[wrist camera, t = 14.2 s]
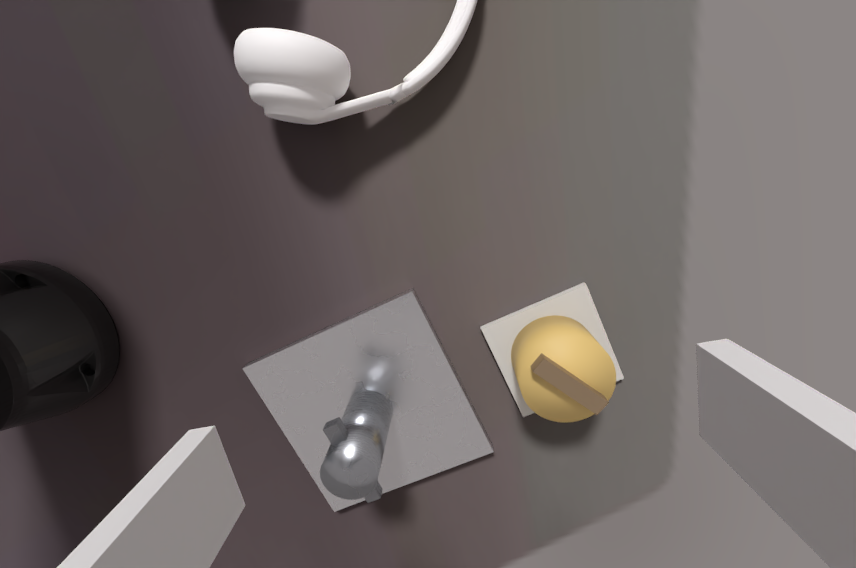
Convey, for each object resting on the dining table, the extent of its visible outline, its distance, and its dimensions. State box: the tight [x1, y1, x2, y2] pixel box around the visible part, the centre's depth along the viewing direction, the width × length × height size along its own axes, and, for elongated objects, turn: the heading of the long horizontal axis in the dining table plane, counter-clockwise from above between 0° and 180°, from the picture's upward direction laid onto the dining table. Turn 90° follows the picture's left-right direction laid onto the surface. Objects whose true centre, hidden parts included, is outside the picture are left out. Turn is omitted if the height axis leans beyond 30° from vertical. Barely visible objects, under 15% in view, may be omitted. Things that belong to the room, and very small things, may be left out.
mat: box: [481, 283, 624, 417], centre depth 38 cm, size 10×10×1 cm
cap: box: [511, 315, 616, 423], centre depth 35 cm, size 8×8×6 cm
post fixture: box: [242, 288, 494, 512], centre depth 36 cm, size 18×18×10 cm
